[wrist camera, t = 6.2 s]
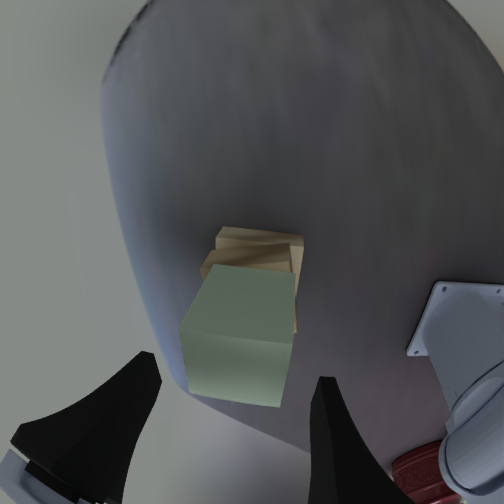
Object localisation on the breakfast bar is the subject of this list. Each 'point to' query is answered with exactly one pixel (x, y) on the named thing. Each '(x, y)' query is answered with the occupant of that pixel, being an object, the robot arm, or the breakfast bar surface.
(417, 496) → the canister
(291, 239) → the slab bottom
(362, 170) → the breakfast bar surface
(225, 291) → the block
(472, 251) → the breakfast bar surface
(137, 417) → the robot arm
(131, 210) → the breakfast bar surface
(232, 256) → the slab top
